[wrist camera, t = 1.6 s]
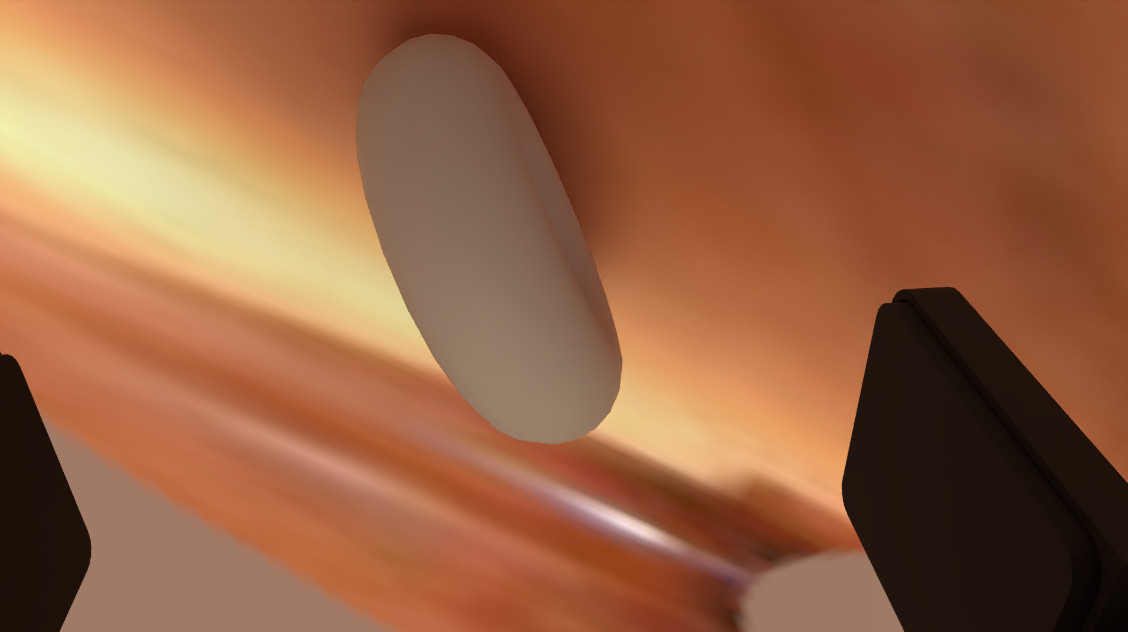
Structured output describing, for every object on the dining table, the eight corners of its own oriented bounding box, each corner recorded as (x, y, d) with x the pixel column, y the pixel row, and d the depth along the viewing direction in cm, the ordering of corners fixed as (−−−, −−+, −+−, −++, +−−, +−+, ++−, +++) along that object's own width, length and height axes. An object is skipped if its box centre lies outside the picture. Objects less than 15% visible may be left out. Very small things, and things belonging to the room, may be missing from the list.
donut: (615, 276, 28) (672, 505, 20) (513, 316, 29) (526, 557, 20) (474, -36, 23) (470, 94, 15) (353, 20, 23) (281, 178, 15)
